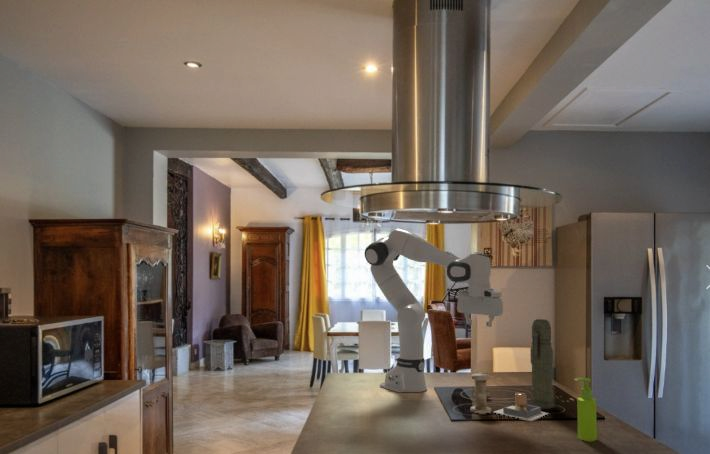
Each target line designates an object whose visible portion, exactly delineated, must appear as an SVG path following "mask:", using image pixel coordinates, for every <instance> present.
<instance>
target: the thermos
mask: <svg viewBox="0 0 710 454" xmlns="http://www.w3.org/2000/svg"><path fill="white" fill-rule="evenodd" d="M531 339H532V341H531V347H530V351H529V352H530V364H531V388H530V401H531V402H530V403H531V404H530V405H532V406H537V407H541V410H550V409H551V408H552V409H553V408H554V402H555V401H554V400H555V399H554V398H555V397H554V389H553V370H552V369H553V365H554V349H553V347H552V342H551V341H552V327H551V324H550V321H549V320H547V319H542V318H541V319H539V318H537V319H534V320H533V321H532V325H531ZM552 409H551V410H552Z"/></svg>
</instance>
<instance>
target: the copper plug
mask: <svg viewBox="0 0 710 454" xmlns="http://www.w3.org/2000/svg"><path fill="white" fill-rule="evenodd" d="M527 405H528V394H527V393H524V392H515V393H514V406H515V409H516V410H521V411H527Z"/></svg>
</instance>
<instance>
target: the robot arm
mask: <svg viewBox="0 0 710 454" xmlns="http://www.w3.org/2000/svg"><path fill="white" fill-rule="evenodd" d="M401 256H403V257H404V258H406V259H408V260H411V261H414V262H417V263H429V264H435V265H439V266H441V267H443V268H445V269H446V276H447V278H448V279H449V280H450V282H453V283H456V284H462V283H463V284H464V283H467V284H468V290H460V291H459V292H458V294H457V304H456V305H457V306H456V311H457V312H458V313H461V314H463V315H464V316H463V317H464V318H465V320H466V325H472V324H473V320H472V319H471V318H470V315H471V314H472V315H482V316H488V319H489V320H488V321H486V327H488V328H489V327H490V328H491V327H492V325H493V321H494V320H495V317H501V316H502V315H503V314H504V306H503V303H504V302H503V300H502V292H501V291H499V290H497V289H494V288H492V287H491V280H490V279H491V275H492V274H491V273H492V272H491V260H490V257H489V255H488V254H486V253H482V252H477V251H476V252H474V251H473V252H471V253H469V254H468V255H466V256H465V257H462V258H459V257H457V256H455V255H453V254H450V253H448V252H446V251H445V250H441V249H440V248H438V247H437V246H435V245H433V244H432V243H430V242H429V241H427V240H426V239H424V238H422V237H421V236H419V235H417V234H415V233H413V232H411V231H408V230H405V229H400V228H395V229H393V230H392V231H391V232H390V233H389V234H388V235H387V236H384V237H381V238H379V239H378V240H375V241H374V242H371V243H370V244H368V246H366V247H365V250H364V259H365V260H366V262H367V263H368V264H369V265H370V273H371V275H372V278H373V280H374V281H375V283H376V285H377V286H378V288H379V289H380V291H381V292H382V294H383V296H384V297H385V299H386V301H387V302H388V303H390V305H391V306H392V307H393V309H394V310H395V311H396V312H397V316H396V317H397V318H396V319H397V331H398V340H399V341H398V343H399V356H398V358H394V361H395V362H396V364H395V365H394V367H392V368H391V369H390V370H388V371H387V372H386V373H385V378H384V382H382V383H380V384H379V387H381V388H383V389H387V390H389V391H393V392H396V393H420V392H425V391H427V390H428V387H427V383H426V377H425V365H426V364H425V357H424V351H425V350H424V349H425V348H424V341H425V340H424V336H423V322H424V320H425V318H426V311H425V309H424V307H423V306H422V305H421V303H420V302H419V300H418V299H417V298H416V296H415V295H414V294H413V293H412V292H411V289H409V288H408V287H407V285H406V283H405V282H404V280H403V279H402V277H401V276H400V274H399V273H398V271H397V269H396V267H394V262H395V261H398V259H399V257H401Z"/></svg>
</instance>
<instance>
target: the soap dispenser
mask: <svg viewBox="0 0 710 454" xmlns="http://www.w3.org/2000/svg"><path fill="white" fill-rule="evenodd" d="M573 380H574V382H577V383H578V382H583V386H582V387H581V388H580V390H581V391H580V394H581V396H580V397H577V399H576V401H577V403H576V405H577V407H576V408H577V409H576V410H577V439H578V440H581V441H583V440H584V442H595V440H596V441H597V439H598V438H597V437H598V435H597V434H598V431H597V399H596V398H593V389H592V388H591V387H590V382H592V379H591V378H589V377H577V378H574V379H573Z"/></svg>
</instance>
